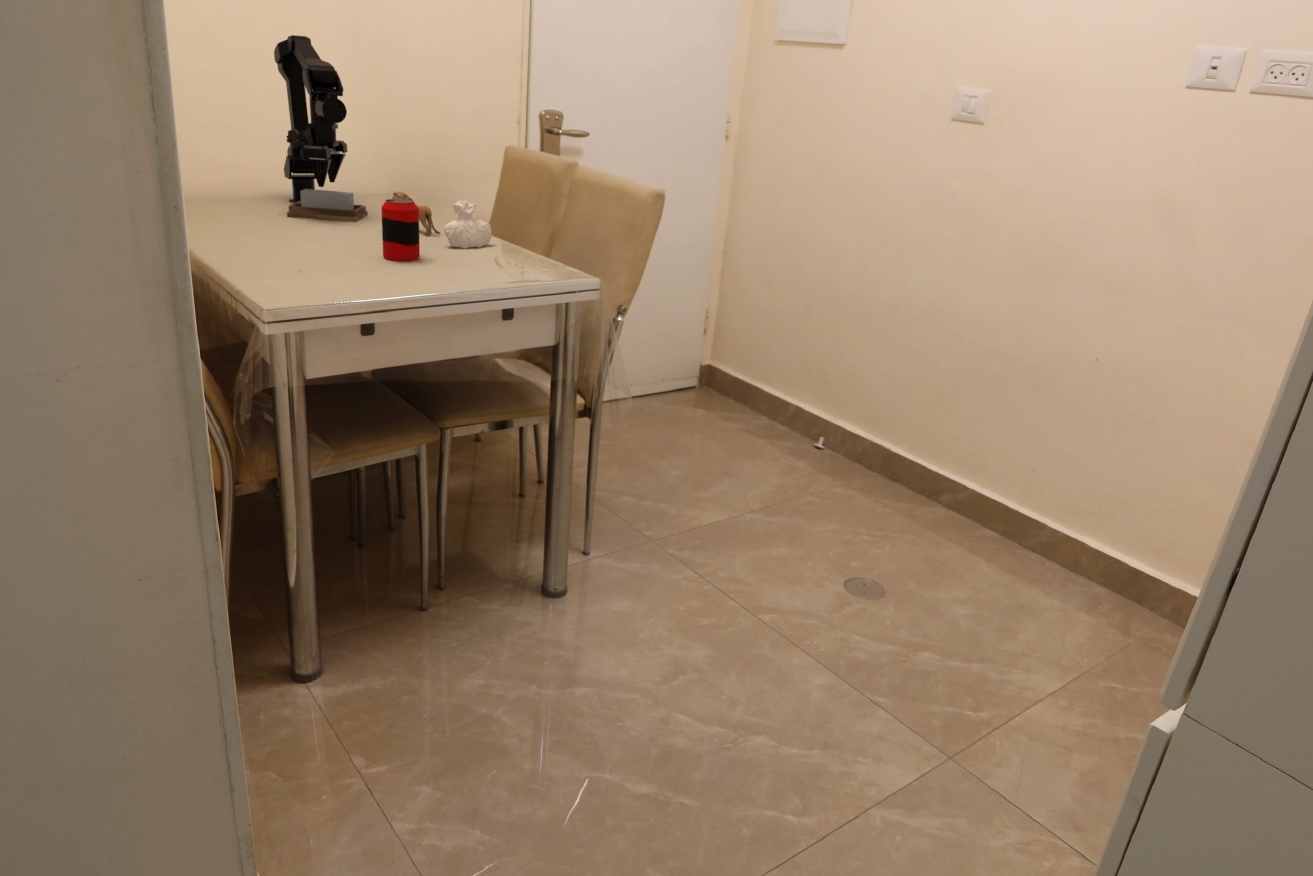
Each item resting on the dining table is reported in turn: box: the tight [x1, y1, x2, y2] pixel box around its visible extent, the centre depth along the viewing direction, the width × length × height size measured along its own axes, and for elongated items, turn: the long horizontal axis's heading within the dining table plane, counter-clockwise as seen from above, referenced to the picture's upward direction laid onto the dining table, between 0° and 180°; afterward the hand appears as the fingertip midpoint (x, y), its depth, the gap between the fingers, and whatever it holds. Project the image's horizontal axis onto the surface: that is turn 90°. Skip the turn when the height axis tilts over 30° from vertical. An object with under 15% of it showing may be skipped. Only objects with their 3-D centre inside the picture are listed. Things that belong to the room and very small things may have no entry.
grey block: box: [300, 189, 355, 211], centre depth 231 cm, size 4×12×5 cm, turn 92°
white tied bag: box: [443, 199, 492, 250], centre depth 210 cm, size 12×8×11 cm
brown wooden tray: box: [286, 201, 368, 223], centre depth 232 cm, size 11×17×2 cm, turn 92°
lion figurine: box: [391, 191, 441, 237], centre depth 221 cm, size 15×5×9 cm, turn 63°
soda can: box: [380, 198, 421, 262], centre depth 192 cm, size 8×8×12 cm
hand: (326, 184), depth 229 cm, fingers open, 9 cm apart
